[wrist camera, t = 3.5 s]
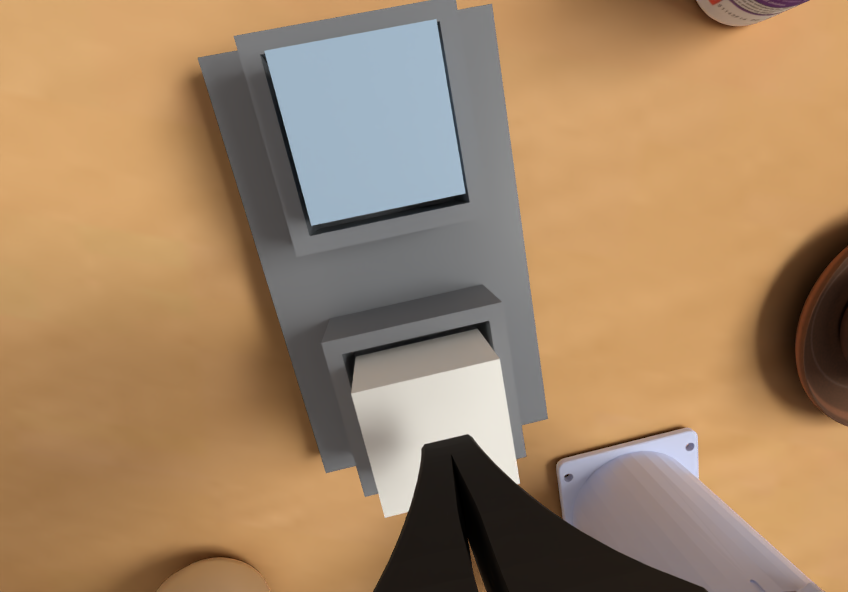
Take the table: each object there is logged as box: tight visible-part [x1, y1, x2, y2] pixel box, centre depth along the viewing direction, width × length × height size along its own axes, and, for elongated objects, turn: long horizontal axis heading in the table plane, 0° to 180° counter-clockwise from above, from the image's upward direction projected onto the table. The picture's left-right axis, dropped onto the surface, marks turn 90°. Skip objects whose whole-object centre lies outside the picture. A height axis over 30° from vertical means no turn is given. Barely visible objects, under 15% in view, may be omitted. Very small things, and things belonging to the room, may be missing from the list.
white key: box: [351, 329, 520, 518], centre depth 15 cm, size 5×5×3 cm
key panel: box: [198, 0, 548, 497], centre depth 17 cm, size 18×11×4 cm, turn 11°
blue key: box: [264, 19, 465, 226], centre depth 13 cm, size 5×5×3 cm
